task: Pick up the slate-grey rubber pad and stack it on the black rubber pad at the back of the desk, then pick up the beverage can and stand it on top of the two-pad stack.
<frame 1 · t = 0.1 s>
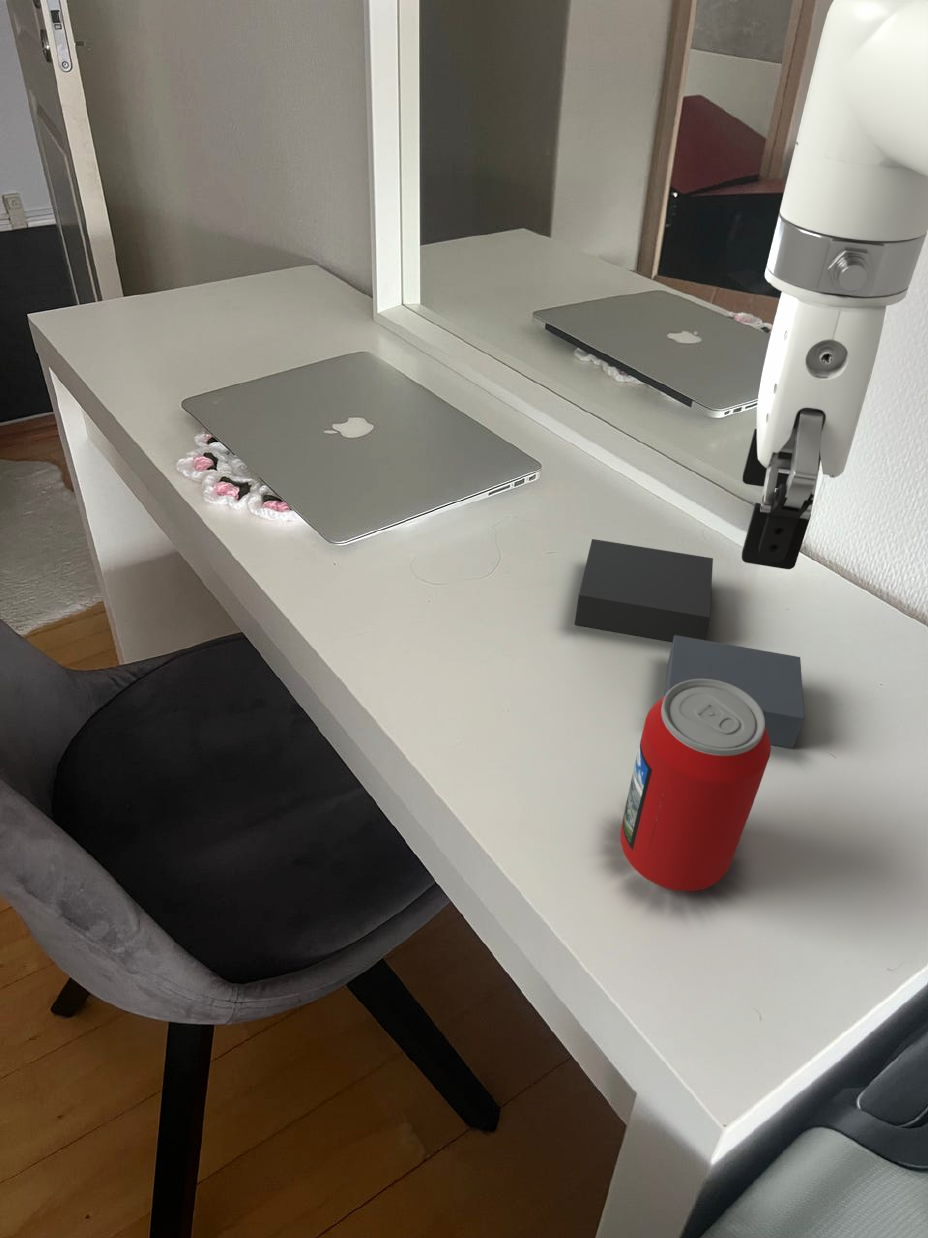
hand: (765, 521, 60), 13 cm above the table, tool pointing down, fingers open, 9 cm apart
pad top: (727, 705, 66), on the table
pad base: (642, 605, 75), on the table
beverage can: (672, 853, 56), on the table
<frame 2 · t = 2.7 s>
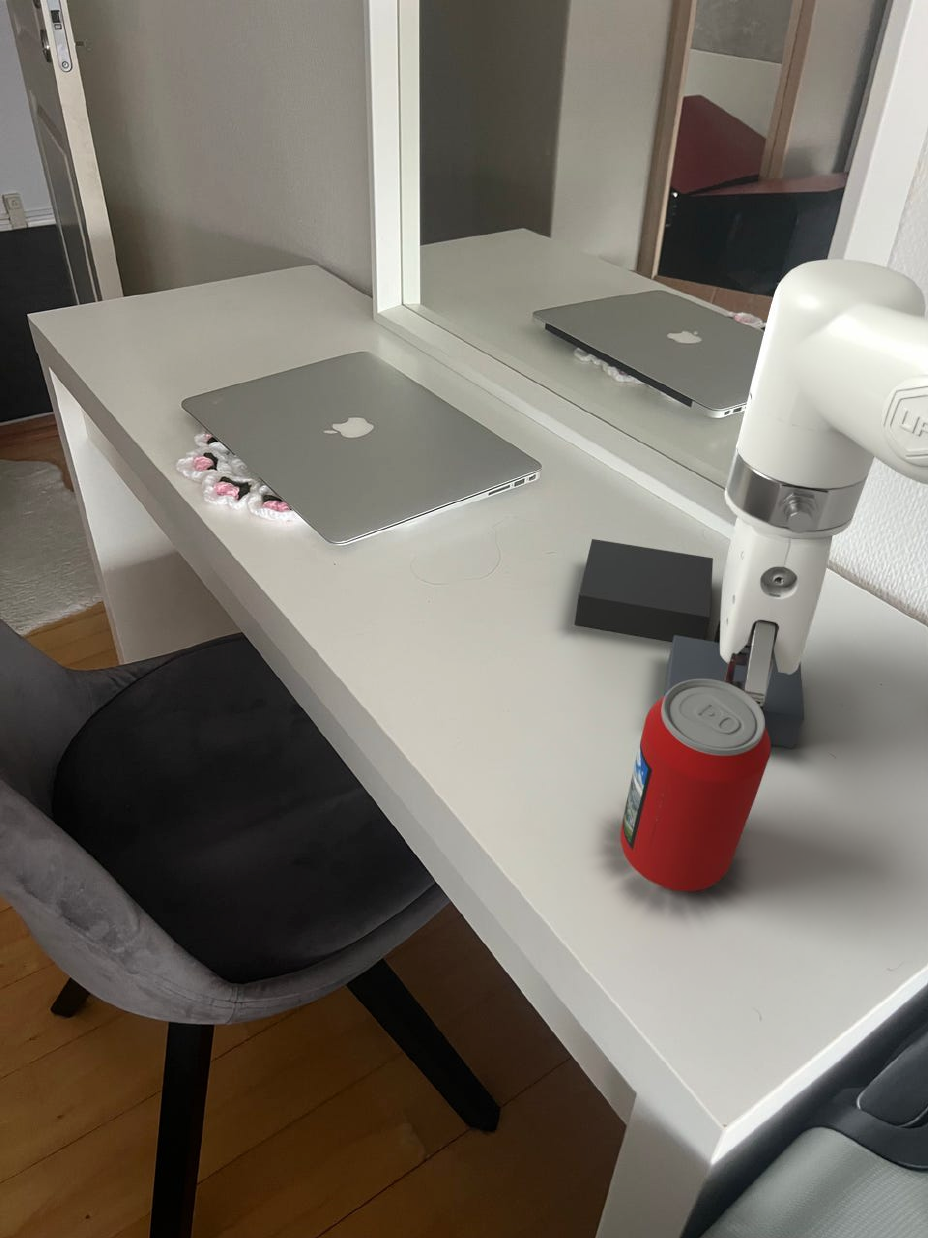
hand: (728, 698, 65), 1 cm above the table, tool pointing down, fingers closed on pad top, 6 cm apart
pad top: (726, 705, 66), on the table, touching gripper
everything else where it was.
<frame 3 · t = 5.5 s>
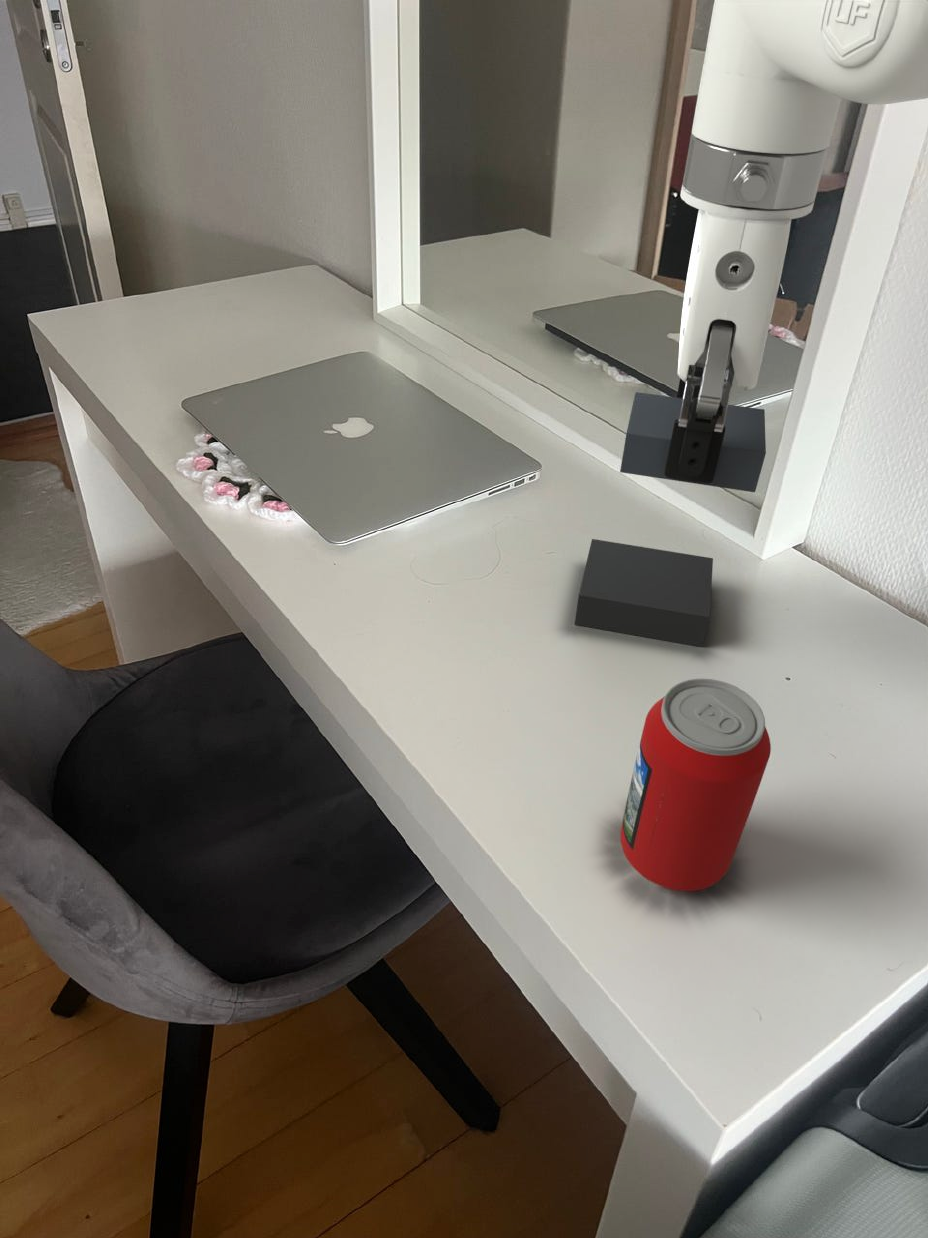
hand: (691, 450, 63), 15 cm above the table, tool pointing down, fingers closed on pad top, 6 cm apart
pad top: (688, 459, 64), point 15 cm above the table, touching gripper
everything else where it was.
when the fingers open (4 cm above the table, at t = 8.7 s): pad top stays where it is, resting on pad base.
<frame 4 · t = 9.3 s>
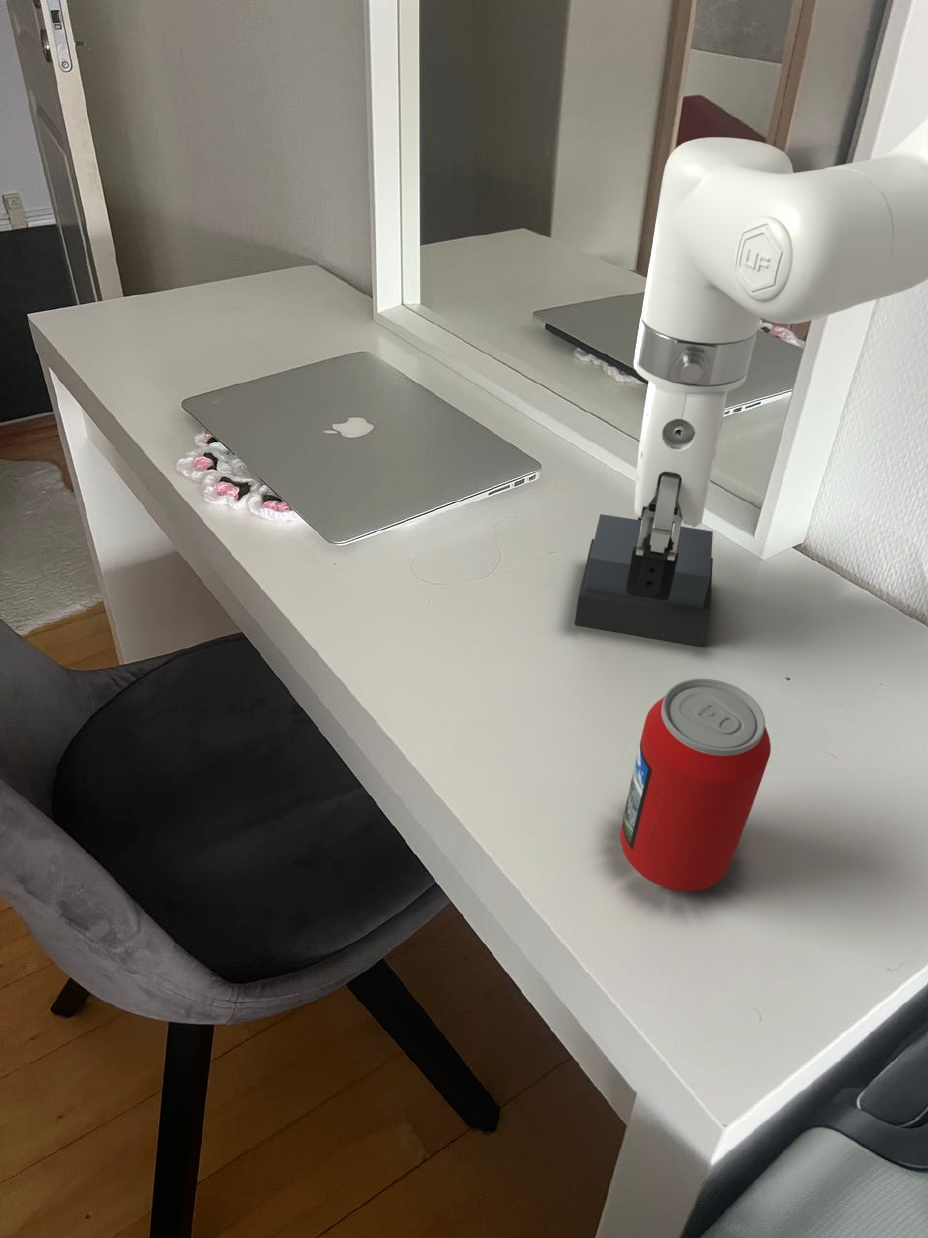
hand: (652, 558, 71), 5 cm above the table, tool pointing down, fingers open, 9 cm apart
pad top: (646, 575, 73), point 3 cm above the table, touching pad base
pad base: (641, 605, 75), on the table, touching pad top
everything else where it was.
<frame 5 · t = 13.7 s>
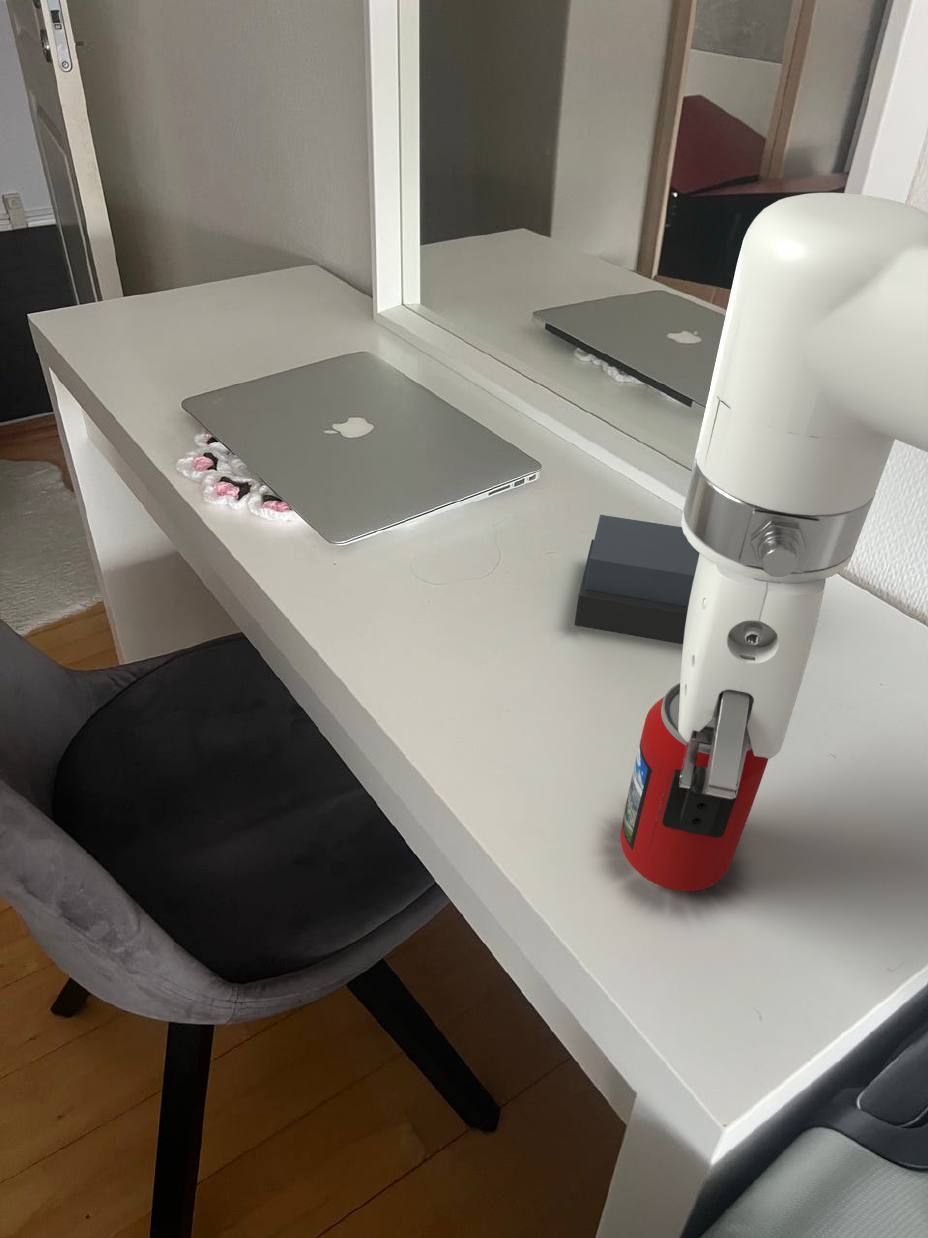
hand: (695, 774, 51), 7 cm above the table, tool pointing down, fingers closed on beverage can, 6 cm apart
beverage can: (672, 853, 56), on the table, touching gripper
everything else where it was.
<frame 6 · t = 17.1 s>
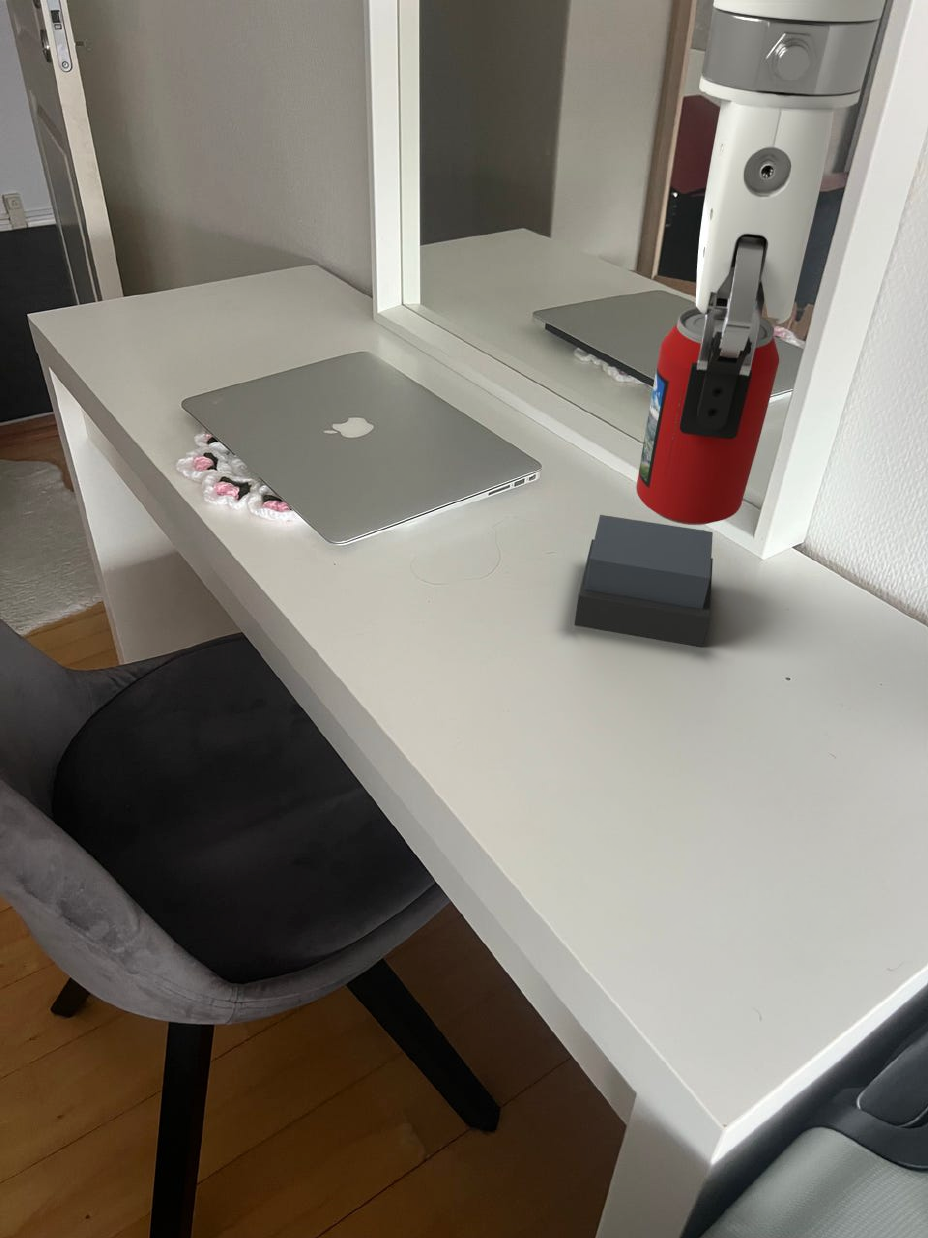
hand: (708, 402, 55), 22 cm above the table, tool pointing down, fingers closed on beverage can, 6 cm apart
beverage can: (685, 507, 59), point 14 cm above the table, touching gripper
everything else where it was.
when the fingers open (13 cm above the table, at t = 20.8 s): beverage can stays where it is, resting on pad top.
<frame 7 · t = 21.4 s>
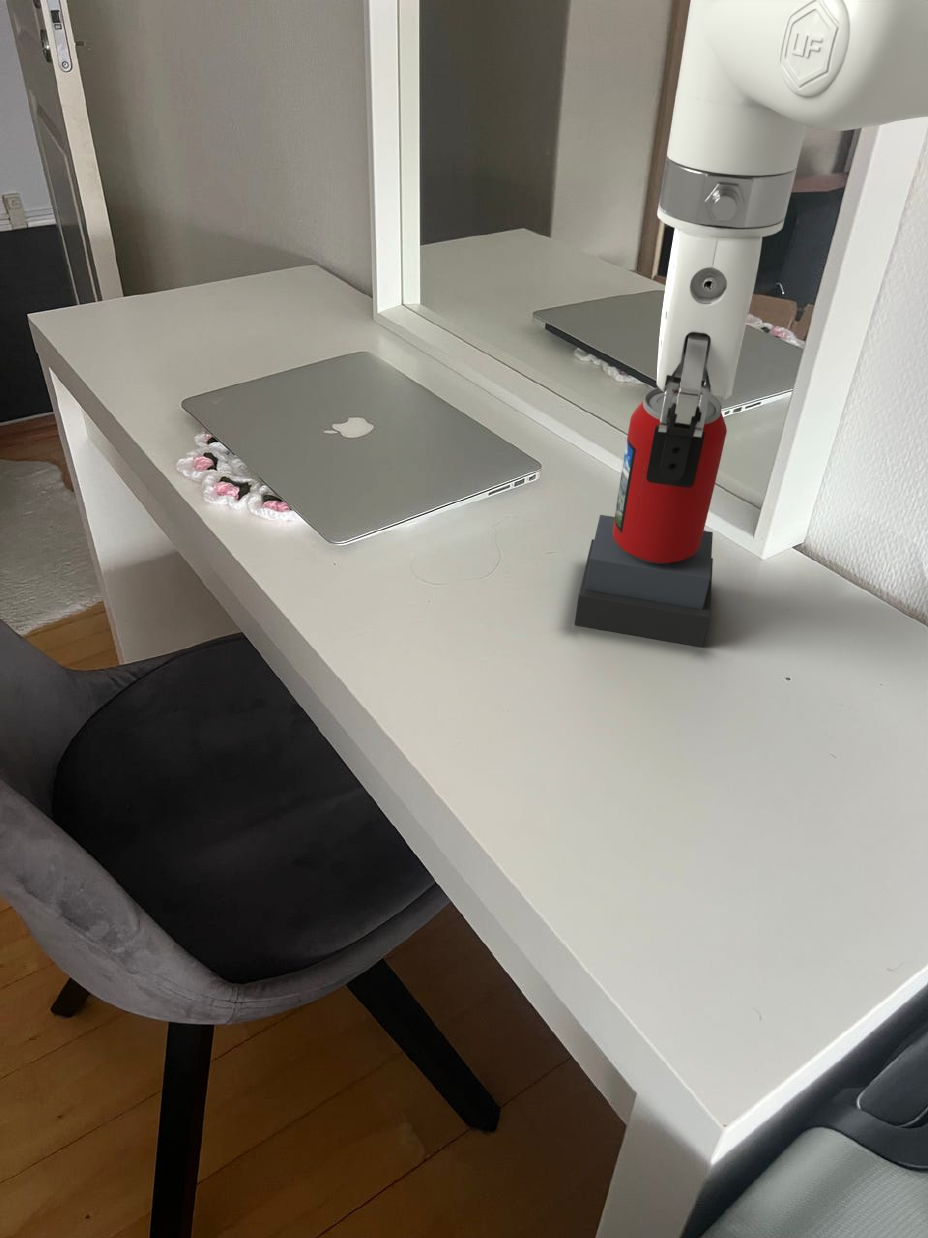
hand: (673, 449, 65), 14 cm above the table, tool pointing down, fingers open, 9 cm apart
pad top: (646, 575, 73), point 3 cm above the table, touching beverage can, pad base
beverage can: (654, 547, 71), point 6 cm above the table, touching pad top
everything else where it was.
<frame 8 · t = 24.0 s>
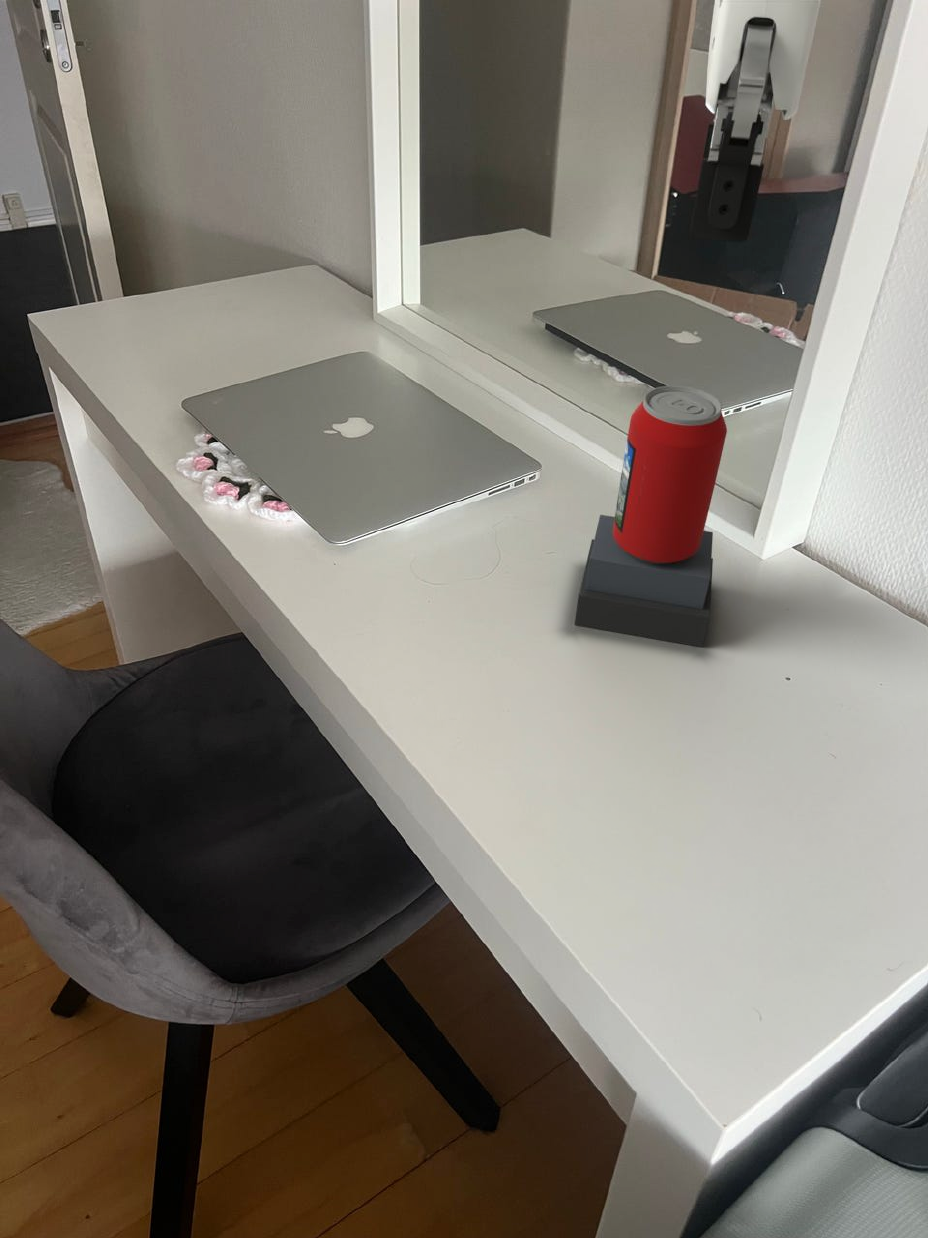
hand: (719, 214, 55), 30 cm above the table, tool pointing down, fingers open, 9 cm apart
nothing on the table moved.
at the end: pad top 0.1 cm off-centre on the pad base, point 3.0 cm above the pad base's base; beverage can 0.0 cm off-centre on the pad base, point 5.8 cm above the pad base's base; beverage can tilted 0° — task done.
